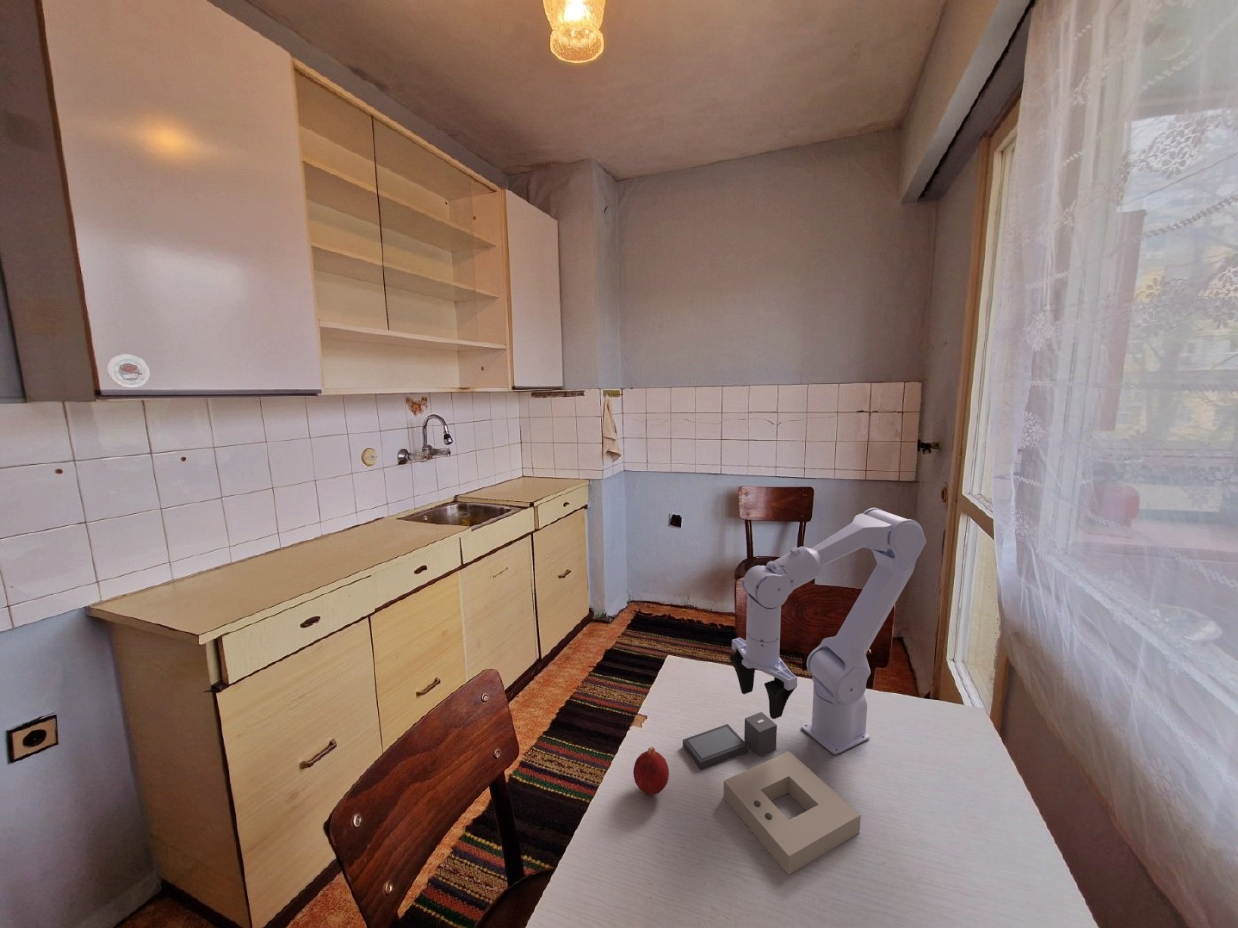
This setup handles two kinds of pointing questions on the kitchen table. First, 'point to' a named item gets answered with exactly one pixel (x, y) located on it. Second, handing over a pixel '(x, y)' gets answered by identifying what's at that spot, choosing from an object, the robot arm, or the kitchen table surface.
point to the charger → (760, 734)
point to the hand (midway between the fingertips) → (760, 703)
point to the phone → (714, 746)
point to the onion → (651, 772)
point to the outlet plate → (804, 833)
